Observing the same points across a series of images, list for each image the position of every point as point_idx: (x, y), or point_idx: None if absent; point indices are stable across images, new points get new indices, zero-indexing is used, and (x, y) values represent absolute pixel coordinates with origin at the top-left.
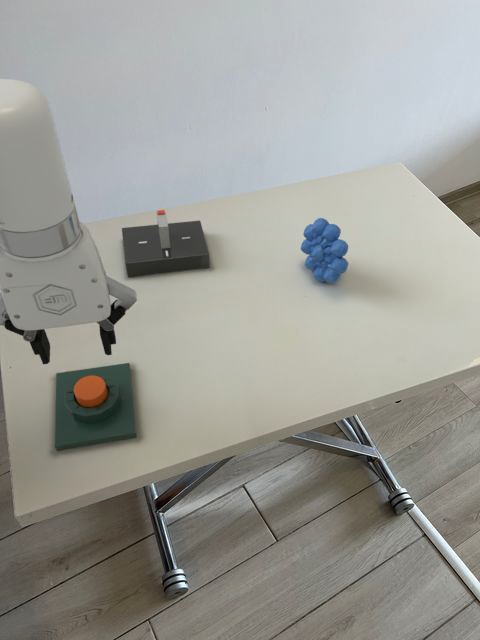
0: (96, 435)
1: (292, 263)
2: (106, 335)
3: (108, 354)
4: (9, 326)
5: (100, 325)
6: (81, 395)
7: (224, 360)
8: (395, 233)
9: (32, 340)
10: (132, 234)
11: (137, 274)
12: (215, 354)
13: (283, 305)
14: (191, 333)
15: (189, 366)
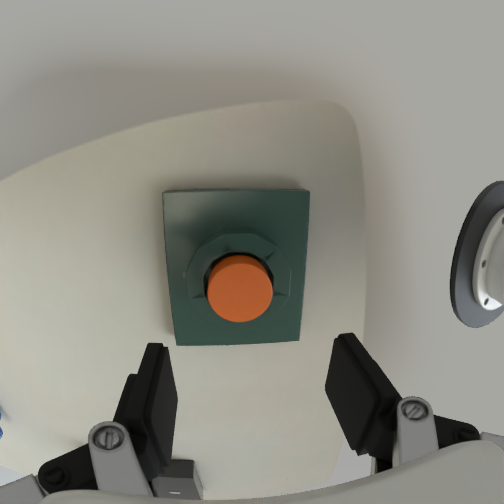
0: (235, 198)
1: (15, 422)
2: (126, 408)
3: (155, 344)
4: (472, 436)
5: (132, 455)
6: (257, 276)
7: (43, 319)
8: None
9: (402, 401)
10: (189, 499)
11: (181, 462)
12: (55, 332)
13: (4, 377)
14: (93, 375)
15: (86, 321)
